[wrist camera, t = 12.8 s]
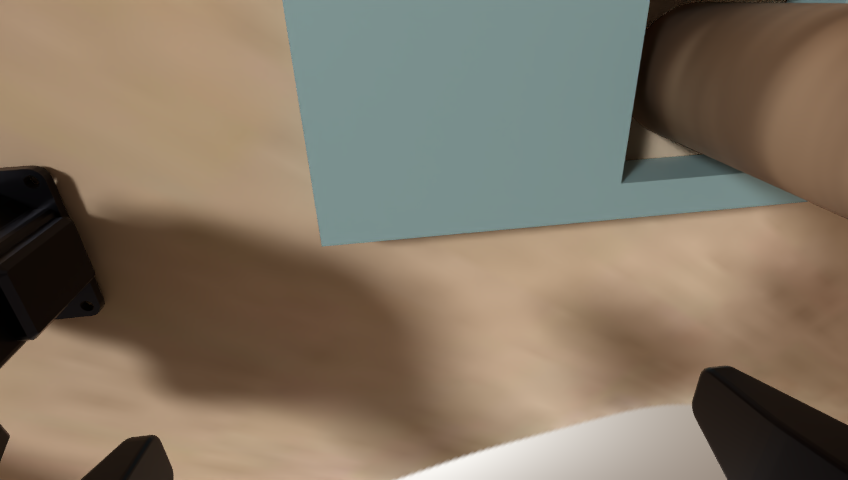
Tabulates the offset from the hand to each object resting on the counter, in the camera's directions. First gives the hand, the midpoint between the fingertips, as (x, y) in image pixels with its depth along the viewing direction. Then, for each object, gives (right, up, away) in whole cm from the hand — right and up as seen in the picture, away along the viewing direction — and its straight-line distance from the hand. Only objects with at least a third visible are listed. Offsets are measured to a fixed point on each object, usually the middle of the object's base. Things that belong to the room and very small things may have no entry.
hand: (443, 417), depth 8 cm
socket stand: (+5, +9, +11) cm, 15 cm away
